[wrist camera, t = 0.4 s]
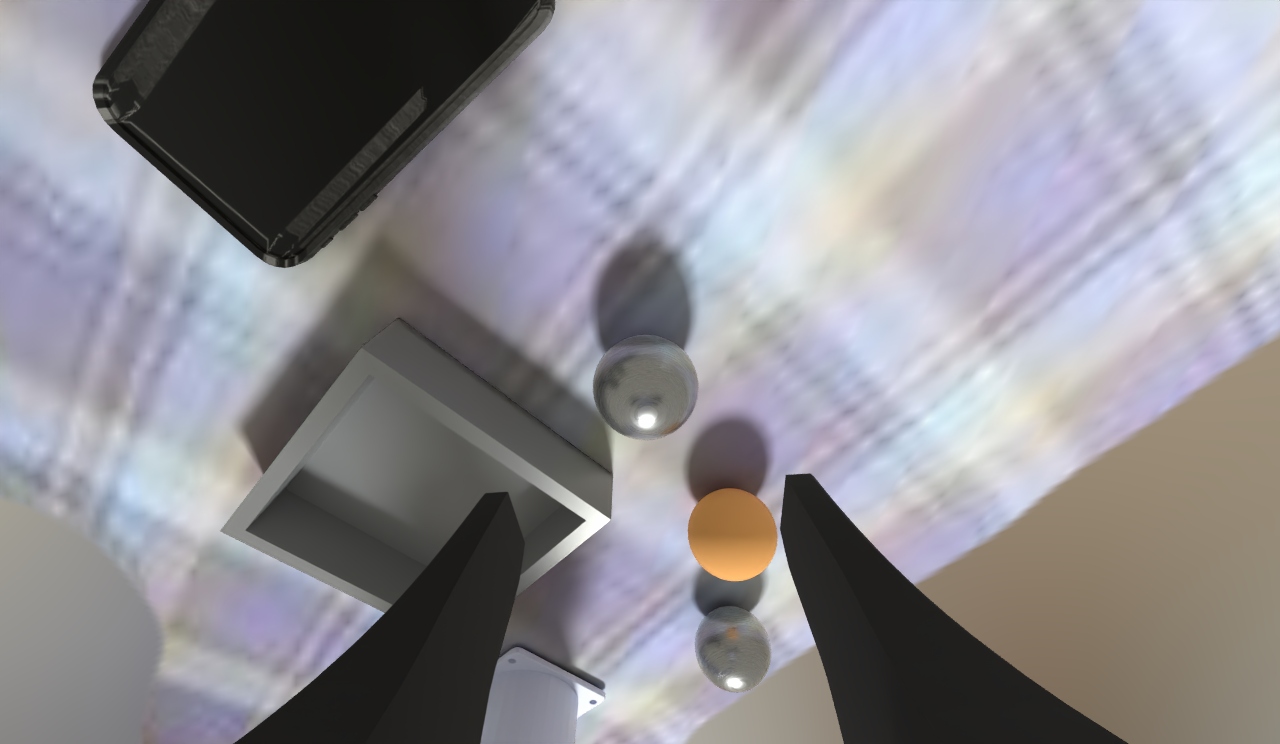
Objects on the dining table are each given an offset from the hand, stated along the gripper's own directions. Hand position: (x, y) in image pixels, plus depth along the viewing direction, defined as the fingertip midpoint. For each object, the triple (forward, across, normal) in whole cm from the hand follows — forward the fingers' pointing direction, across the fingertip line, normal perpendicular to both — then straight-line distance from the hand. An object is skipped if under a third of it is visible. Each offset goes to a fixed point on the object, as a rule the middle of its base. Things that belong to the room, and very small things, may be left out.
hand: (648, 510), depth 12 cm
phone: (+11, +10, -11) cm, 19 cm away
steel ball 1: (+8, 0, +1) cm, 8 cm away
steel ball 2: (+6, -4, +19) cm, 21 cm away
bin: (+9, +11, +7) cm, 16 cm away
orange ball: (+7, -4, +10) cm, 13 cm away
